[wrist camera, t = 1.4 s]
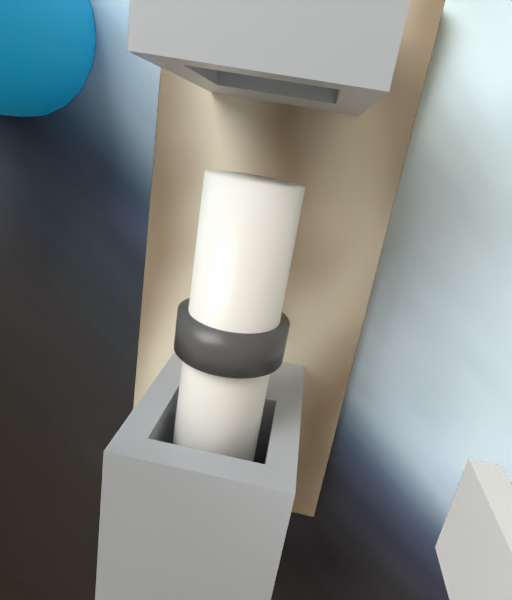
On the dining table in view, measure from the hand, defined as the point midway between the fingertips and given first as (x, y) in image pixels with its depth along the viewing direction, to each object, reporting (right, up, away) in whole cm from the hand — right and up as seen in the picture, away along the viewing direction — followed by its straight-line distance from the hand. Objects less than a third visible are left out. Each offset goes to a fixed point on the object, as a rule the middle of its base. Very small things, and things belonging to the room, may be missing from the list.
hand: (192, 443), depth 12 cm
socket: (+3, +15, +9) cm, 18 cm away
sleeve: (0, -3, +15) cm, 16 cm away
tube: (0, 0, +10) cm, 10 cm away
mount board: (+2, +5, +14) cm, 15 cm away
